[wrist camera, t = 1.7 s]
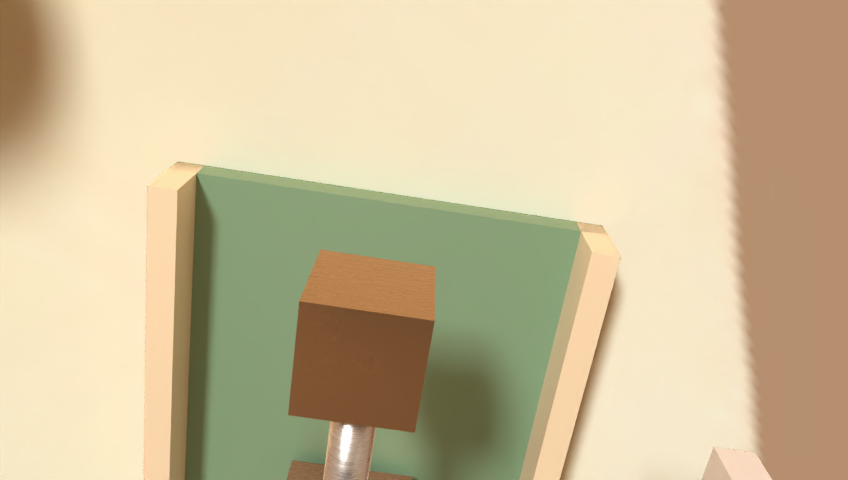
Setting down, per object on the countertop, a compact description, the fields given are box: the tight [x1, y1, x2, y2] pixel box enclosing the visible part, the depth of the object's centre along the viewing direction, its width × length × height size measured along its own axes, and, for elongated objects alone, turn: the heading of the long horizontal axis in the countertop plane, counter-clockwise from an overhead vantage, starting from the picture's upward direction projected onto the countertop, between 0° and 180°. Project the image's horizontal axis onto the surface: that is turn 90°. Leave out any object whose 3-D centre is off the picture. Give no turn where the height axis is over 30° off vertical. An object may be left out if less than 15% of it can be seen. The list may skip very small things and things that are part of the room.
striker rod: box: [286, 250, 435, 480], centre depth 23 cm, size 14×5×10 cm, turn 171°
